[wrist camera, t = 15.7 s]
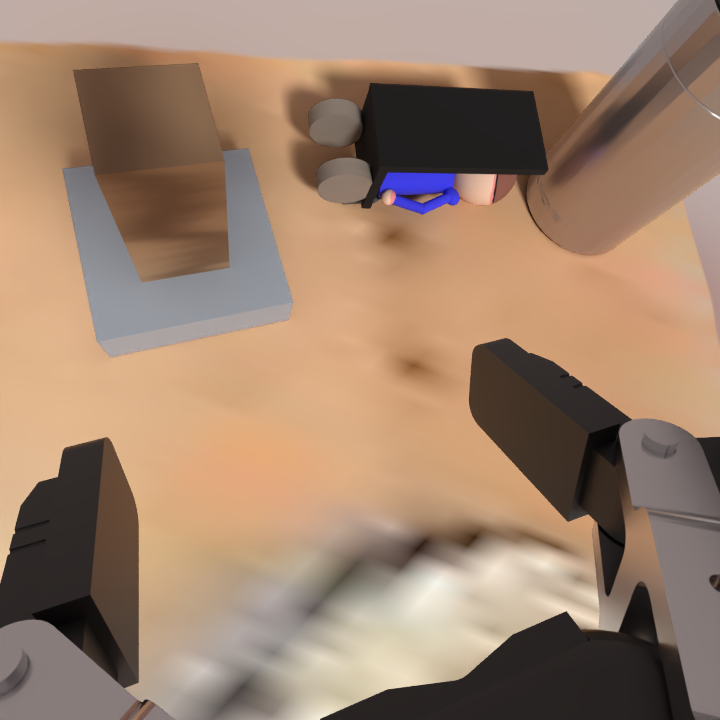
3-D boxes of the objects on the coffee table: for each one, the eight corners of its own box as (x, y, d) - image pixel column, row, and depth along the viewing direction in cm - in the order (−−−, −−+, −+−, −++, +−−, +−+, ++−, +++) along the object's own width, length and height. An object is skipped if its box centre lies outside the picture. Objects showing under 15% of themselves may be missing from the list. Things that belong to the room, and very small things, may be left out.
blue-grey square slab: (247, 176, 36) (248, 148, 33) (288, 319, 34) (293, 302, 31) (77, 197, 33) (62, 168, 30) (110, 357, 31) (97, 341, 28)
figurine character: (315, 237, 38) (511, 226, 40) (318, 173, 30) (558, 163, 32) (306, 158, 39) (494, 151, 41) (307, 79, 32) (536, 75, 34)
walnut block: (210, 195, 32) (198, 63, 22) (229, 267, 31) (224, 160, 21) (125, 206, 30) (72, 70, 21) (141, 282, 29) (94, 175, 20)
